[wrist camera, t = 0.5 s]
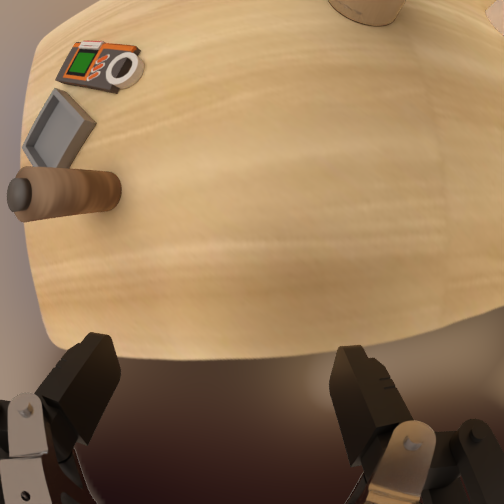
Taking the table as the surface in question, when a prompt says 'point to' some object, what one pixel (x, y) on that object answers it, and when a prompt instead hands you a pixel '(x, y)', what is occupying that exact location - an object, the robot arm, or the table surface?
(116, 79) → the electronic device
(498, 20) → the candle
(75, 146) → the tray
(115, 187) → the pepper mill
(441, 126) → the table surface
